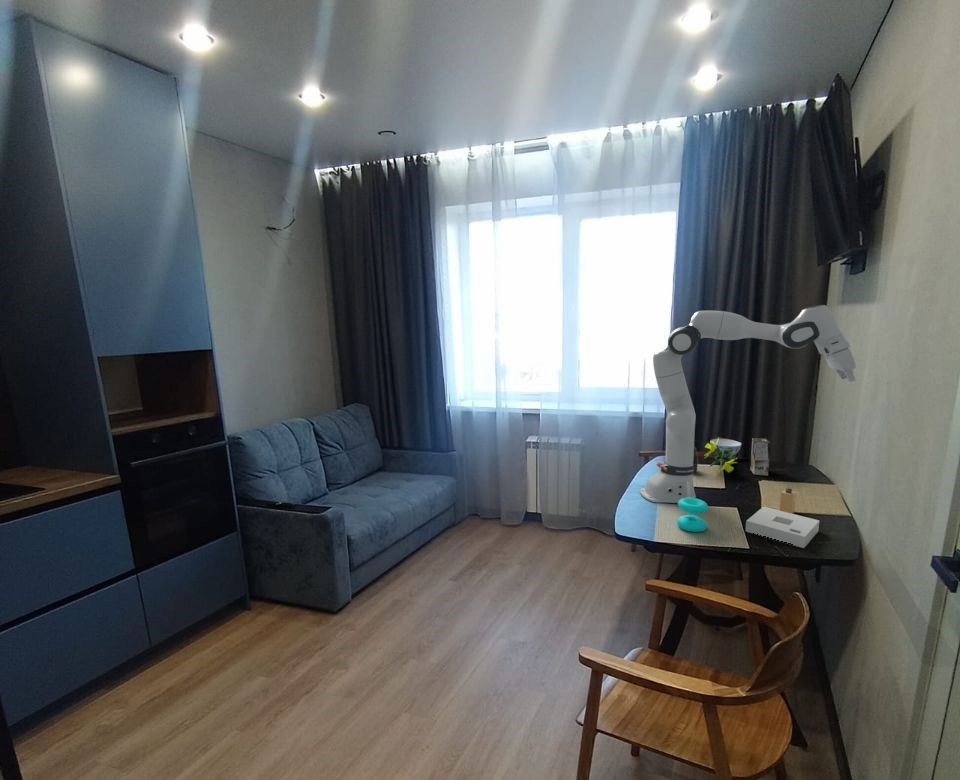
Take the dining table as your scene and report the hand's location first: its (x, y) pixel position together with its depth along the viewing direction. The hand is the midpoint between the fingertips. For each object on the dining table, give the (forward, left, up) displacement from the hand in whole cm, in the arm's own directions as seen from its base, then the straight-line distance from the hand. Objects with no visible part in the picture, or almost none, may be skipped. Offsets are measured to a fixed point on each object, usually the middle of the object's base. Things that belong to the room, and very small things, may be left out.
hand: (848, 379), depth 178 cm
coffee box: (+3, +51, -53) cm, 73 cm away
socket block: (-28, -11, -52) cm, 61 cm away
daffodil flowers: (-13, +59, -53) cm, 80 cm away
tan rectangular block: (-15, +5, -52) cm, 55 cm away
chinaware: (+1, +78, -53) cm, 94 cm away
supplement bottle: (-29, +56, -53) cm, 82 cm away
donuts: (-58, -5, -53) cm, 79 cm away
